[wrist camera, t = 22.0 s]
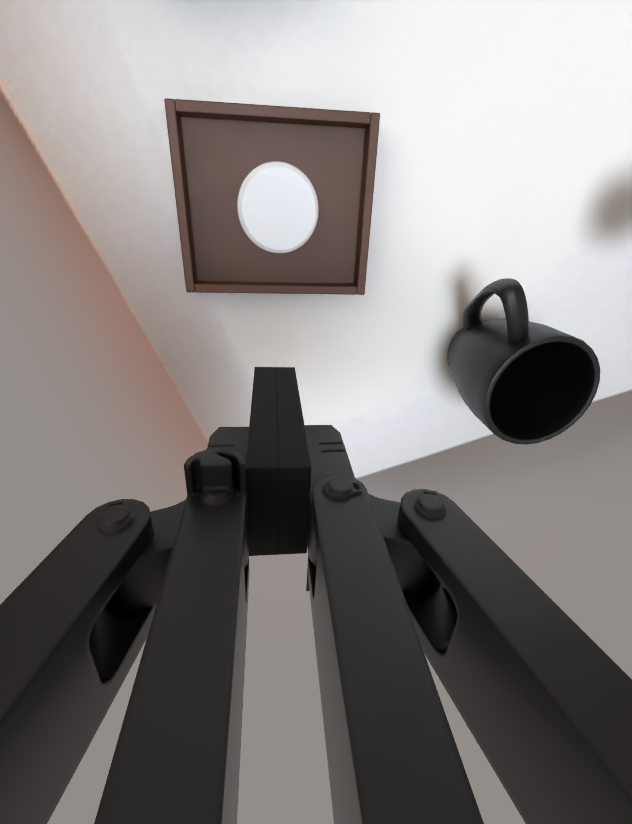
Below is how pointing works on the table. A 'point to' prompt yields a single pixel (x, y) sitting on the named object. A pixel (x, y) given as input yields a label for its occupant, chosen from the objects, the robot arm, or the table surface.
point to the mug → (520, 370)
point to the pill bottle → (277, 207)
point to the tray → (229, 166)
